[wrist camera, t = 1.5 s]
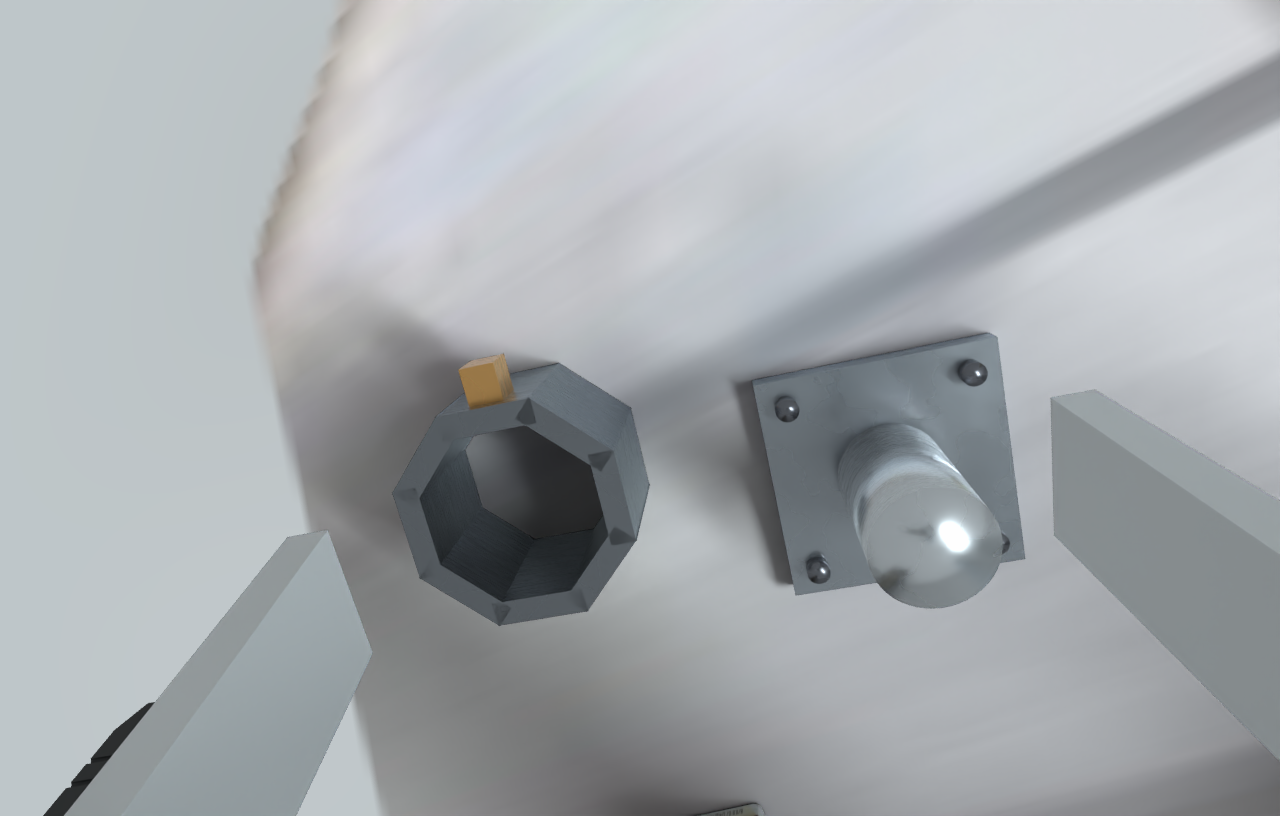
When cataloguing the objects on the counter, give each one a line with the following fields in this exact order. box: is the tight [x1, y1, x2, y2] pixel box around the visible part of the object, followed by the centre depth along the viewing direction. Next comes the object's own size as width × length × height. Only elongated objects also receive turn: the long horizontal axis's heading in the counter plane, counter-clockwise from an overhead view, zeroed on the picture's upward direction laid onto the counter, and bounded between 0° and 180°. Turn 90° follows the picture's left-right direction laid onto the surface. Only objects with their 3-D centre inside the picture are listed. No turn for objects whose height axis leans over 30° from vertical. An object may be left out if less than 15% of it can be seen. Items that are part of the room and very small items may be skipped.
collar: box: [392, 354, 650, 626], centre depth 35 cm, size 10×9×6 cm
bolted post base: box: [752, 333, 1025, 608], centre depth 32 cm, size 10×10×8 cm
